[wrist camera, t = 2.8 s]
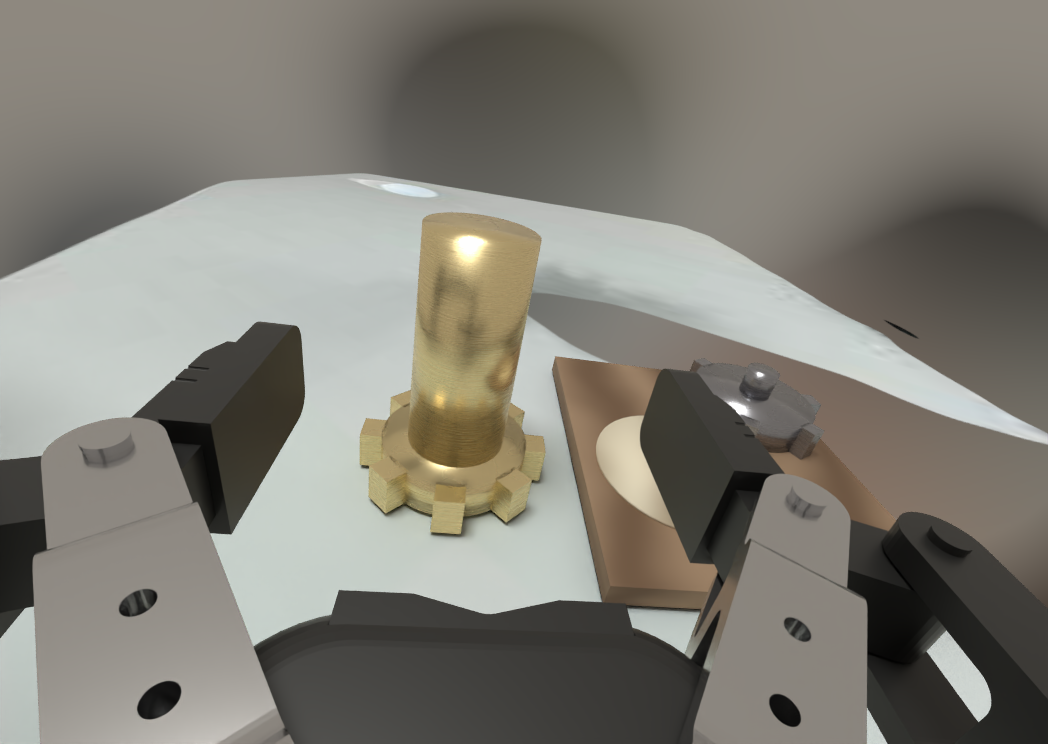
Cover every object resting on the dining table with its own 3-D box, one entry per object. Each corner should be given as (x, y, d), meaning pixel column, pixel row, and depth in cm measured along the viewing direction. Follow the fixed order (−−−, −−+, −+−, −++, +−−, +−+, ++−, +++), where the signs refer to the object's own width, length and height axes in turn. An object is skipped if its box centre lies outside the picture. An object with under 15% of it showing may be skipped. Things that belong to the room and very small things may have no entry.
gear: (702, 449, 30) (726, 399, 28) (659, 375, 38) (675, 332, 36) (841, 464, 31) (872, 416, 30) (772, 389, 39) (793, 348, 37)
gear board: (603, 603, 21) (611, 583, 20) (552, 369, 38) (555, 354, 37) (962, 623, 23) (980, 606, 23) (762, 395, 41) (769, 381, 40)
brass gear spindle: (338, 525, 22) (332, 243, 16) (379, 405, 30) (387, 188, 24) (545, 540, 23) (617, 286, 17) (531, 421, 32) (576, 220, 25)
